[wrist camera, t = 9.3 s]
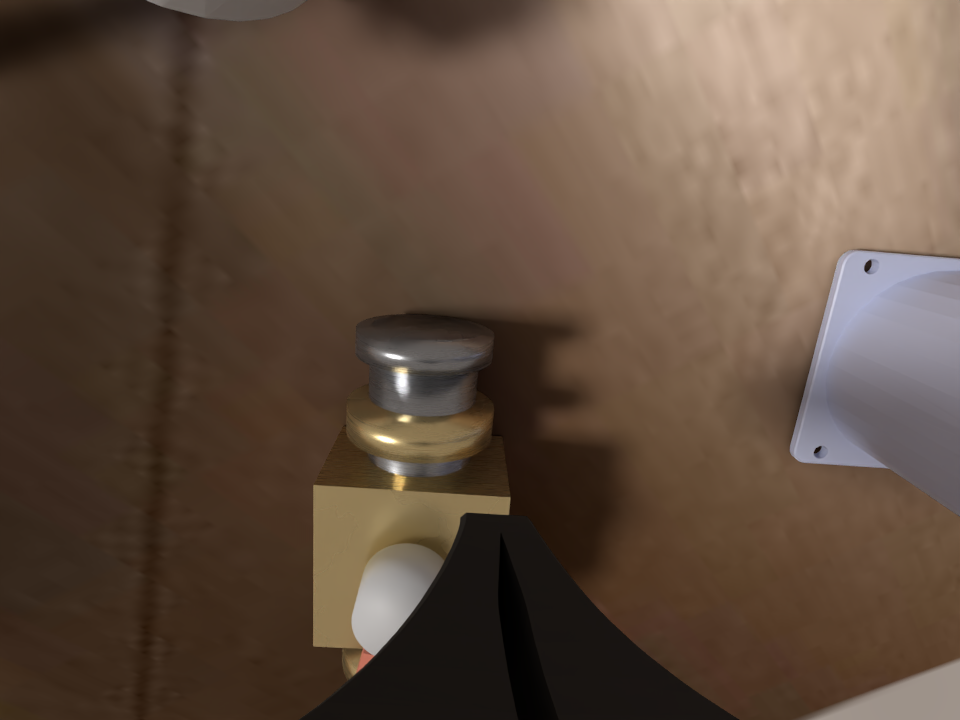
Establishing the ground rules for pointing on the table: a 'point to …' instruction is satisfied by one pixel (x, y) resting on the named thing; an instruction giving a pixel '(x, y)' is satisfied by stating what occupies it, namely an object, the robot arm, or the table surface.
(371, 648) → the lever
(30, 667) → the table surface
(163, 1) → the mechanical valve
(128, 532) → the table surface
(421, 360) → the valve pipe
